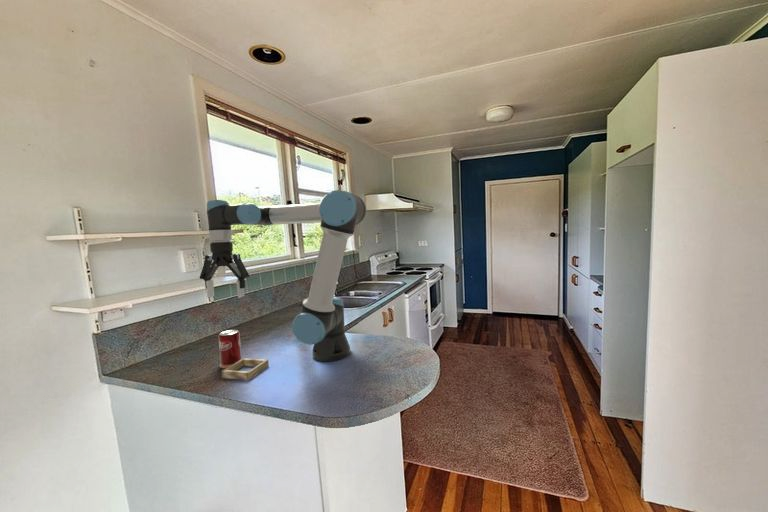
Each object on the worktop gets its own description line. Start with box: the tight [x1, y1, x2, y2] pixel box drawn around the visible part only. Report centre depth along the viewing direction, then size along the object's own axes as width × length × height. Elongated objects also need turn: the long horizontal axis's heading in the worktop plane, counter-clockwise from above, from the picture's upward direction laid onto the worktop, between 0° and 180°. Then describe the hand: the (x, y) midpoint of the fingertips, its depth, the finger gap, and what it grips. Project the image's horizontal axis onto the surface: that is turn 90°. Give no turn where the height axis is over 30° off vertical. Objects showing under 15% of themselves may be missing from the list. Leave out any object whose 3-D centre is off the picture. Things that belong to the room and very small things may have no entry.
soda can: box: [218, 329, 243, 366], centre depth 118 cm, size 7×7×12 cm
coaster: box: [219, 362, 229, 369], centre depth 118 cm, size 8×8×1 cm
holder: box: [221, 357, 270, 381], centre depth 110 cm, size 11×11×2 cm
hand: (226, 297), depth 116 cm, fingers open, 13 cm apart
